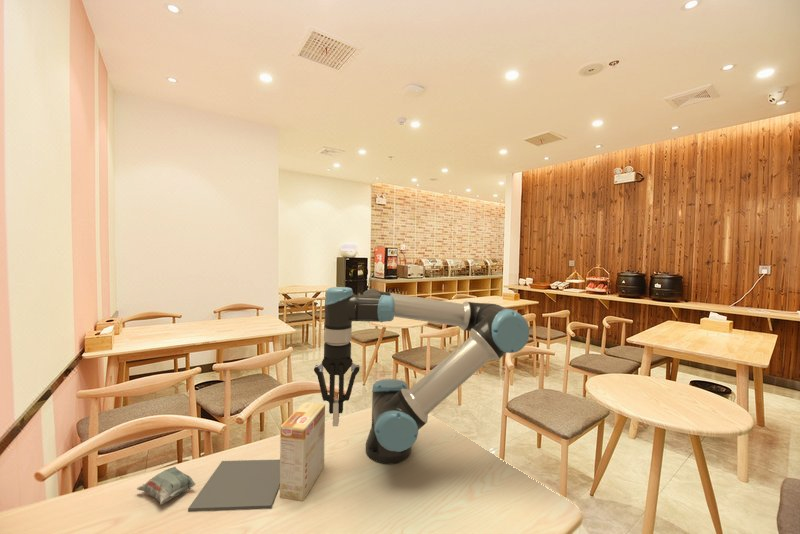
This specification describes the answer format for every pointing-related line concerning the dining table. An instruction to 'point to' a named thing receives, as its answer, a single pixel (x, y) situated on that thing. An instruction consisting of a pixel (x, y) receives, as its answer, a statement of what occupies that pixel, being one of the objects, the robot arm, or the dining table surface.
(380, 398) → the robot arm
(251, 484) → the mat
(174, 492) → the packaged food
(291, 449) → the coffeecake box
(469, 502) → the dining table surface
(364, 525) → the dining table surface
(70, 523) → the dining table surface
